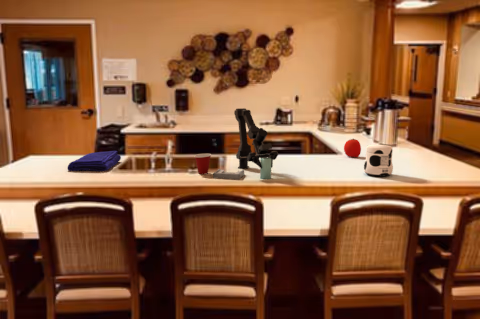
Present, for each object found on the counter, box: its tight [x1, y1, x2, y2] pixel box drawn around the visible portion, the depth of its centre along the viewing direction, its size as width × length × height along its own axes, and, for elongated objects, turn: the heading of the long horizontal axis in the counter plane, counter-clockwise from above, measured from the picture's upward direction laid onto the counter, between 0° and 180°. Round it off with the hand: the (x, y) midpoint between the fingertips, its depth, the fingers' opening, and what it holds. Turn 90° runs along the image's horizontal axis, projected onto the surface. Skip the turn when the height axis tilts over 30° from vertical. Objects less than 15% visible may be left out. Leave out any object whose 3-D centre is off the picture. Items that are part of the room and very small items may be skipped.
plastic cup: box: [193, 153, 212, 175], centre depth 300 cm, size 11×11×12 cm
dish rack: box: [212, 168, 245, 180], centre depth 293 cm, size 14×16×3 cm
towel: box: [67, 150, 122, 172], centre depth 321 cm, size 26×36×9 cm
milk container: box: [363, 144, 394, 177], centre depth 298 cm, size 17×17×18 cm
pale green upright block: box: [259, 157, 272, 180], centre depth 287 cm, size 6×6×12 cm
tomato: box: [343, 138, 362, 158], centre depth 361 cm, size 13×11×14 cm
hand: (266, 167), depth 286 cm, fingers closed on pale green upright block, 6 cm apart
